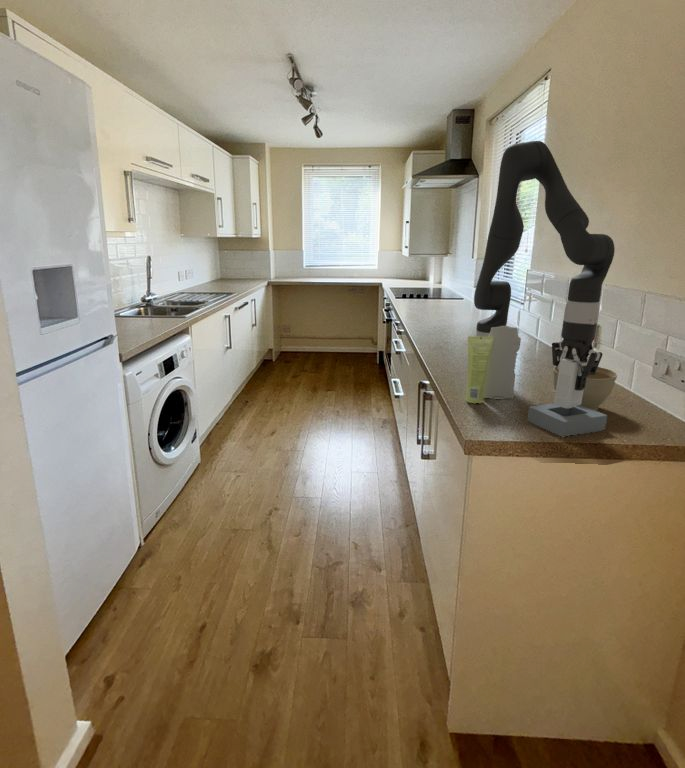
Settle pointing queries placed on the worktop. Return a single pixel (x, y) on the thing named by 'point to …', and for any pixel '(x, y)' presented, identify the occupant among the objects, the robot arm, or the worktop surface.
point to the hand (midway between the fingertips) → (570, 386)
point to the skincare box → (567, 385)
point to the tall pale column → (502, 363)
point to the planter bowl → (594, 387)
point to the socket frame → (567, 419)
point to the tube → (477, 367)
